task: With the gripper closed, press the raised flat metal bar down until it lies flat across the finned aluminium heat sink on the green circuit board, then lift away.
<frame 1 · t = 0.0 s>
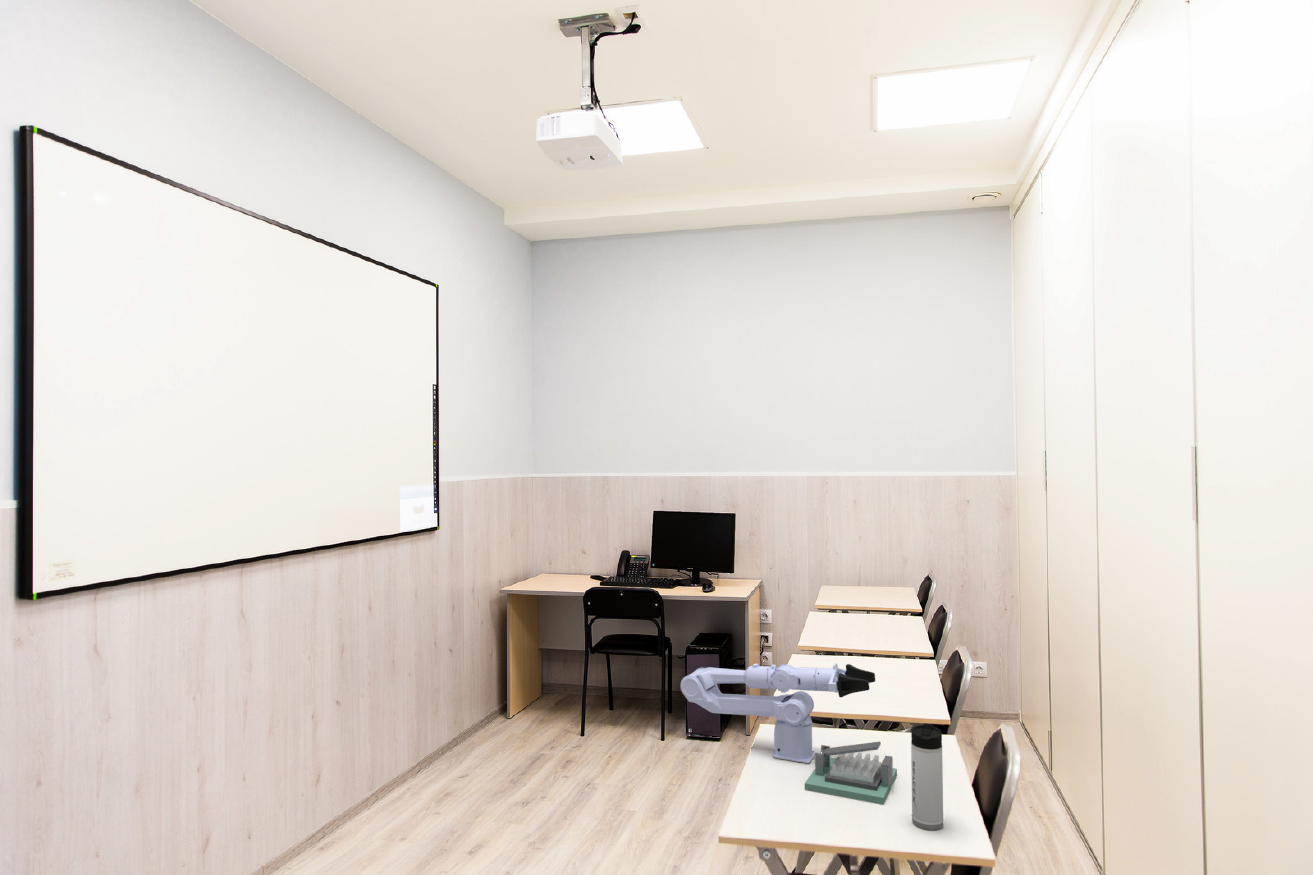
hand: (871, 681, 194), 22 cm above the table, tool horizontal, fingers open, 7 cm apart
flat metal bar: (849, 749, 187), point 8 cm above the table, hinge at 16.0°
travel mug: (927, 824, 165), on the table
heat sink: (853, 765, 186), point 4 cm above the table
circuit board: (851, 782, 186), on the table
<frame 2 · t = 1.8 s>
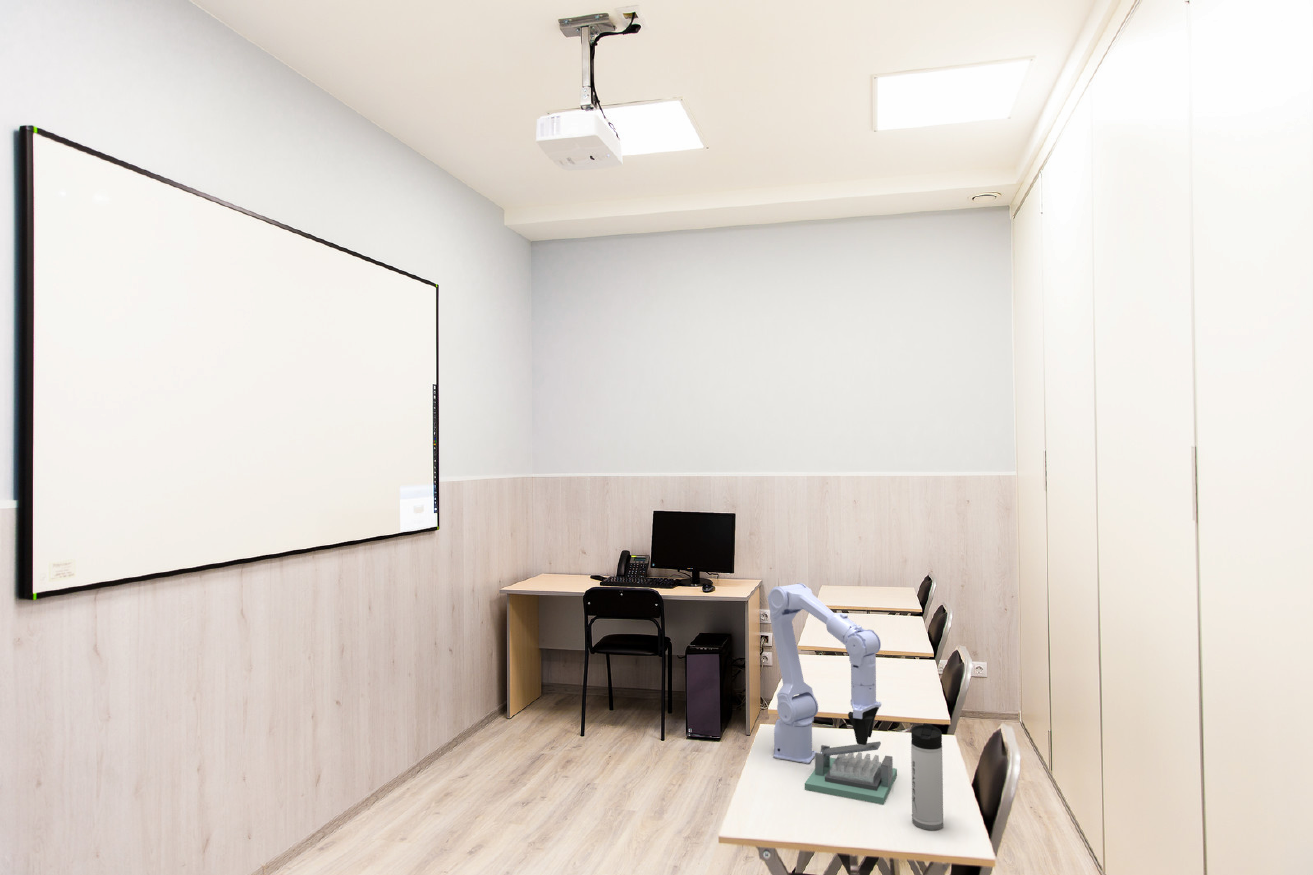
hand: (864, 740, 185), 10 cm above the table, tool pointing down, fingers open, 5 cm apart
nothing on the table moved.
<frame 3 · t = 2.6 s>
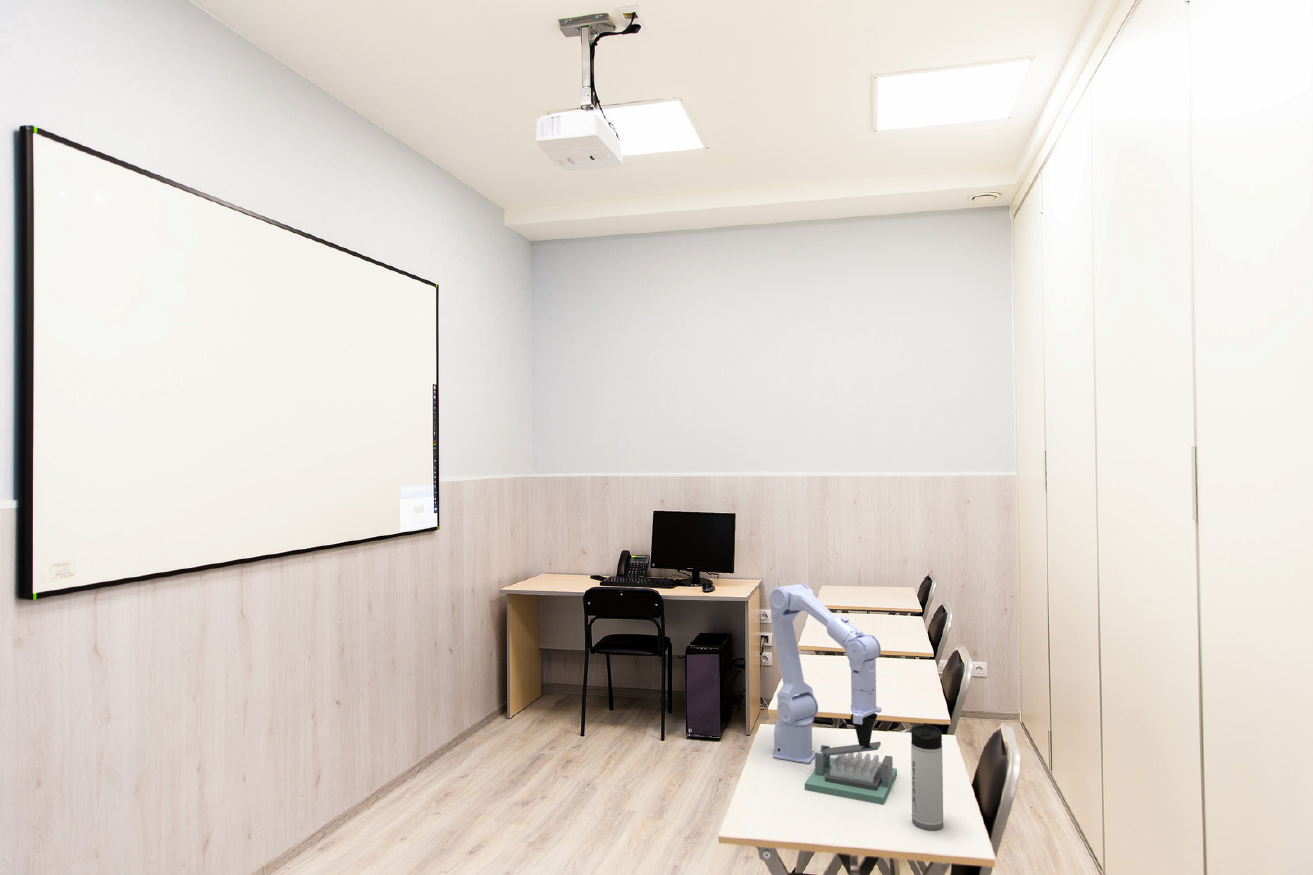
hand: (864, 745, 185), 9 cm above the table, tool pointing down, fingers closed, pressing on flat metal bar
flat metal bar: (849, 749, 187), point 8 cm above the table, hinge at 15.8°, touching gripper
everything else where it was.
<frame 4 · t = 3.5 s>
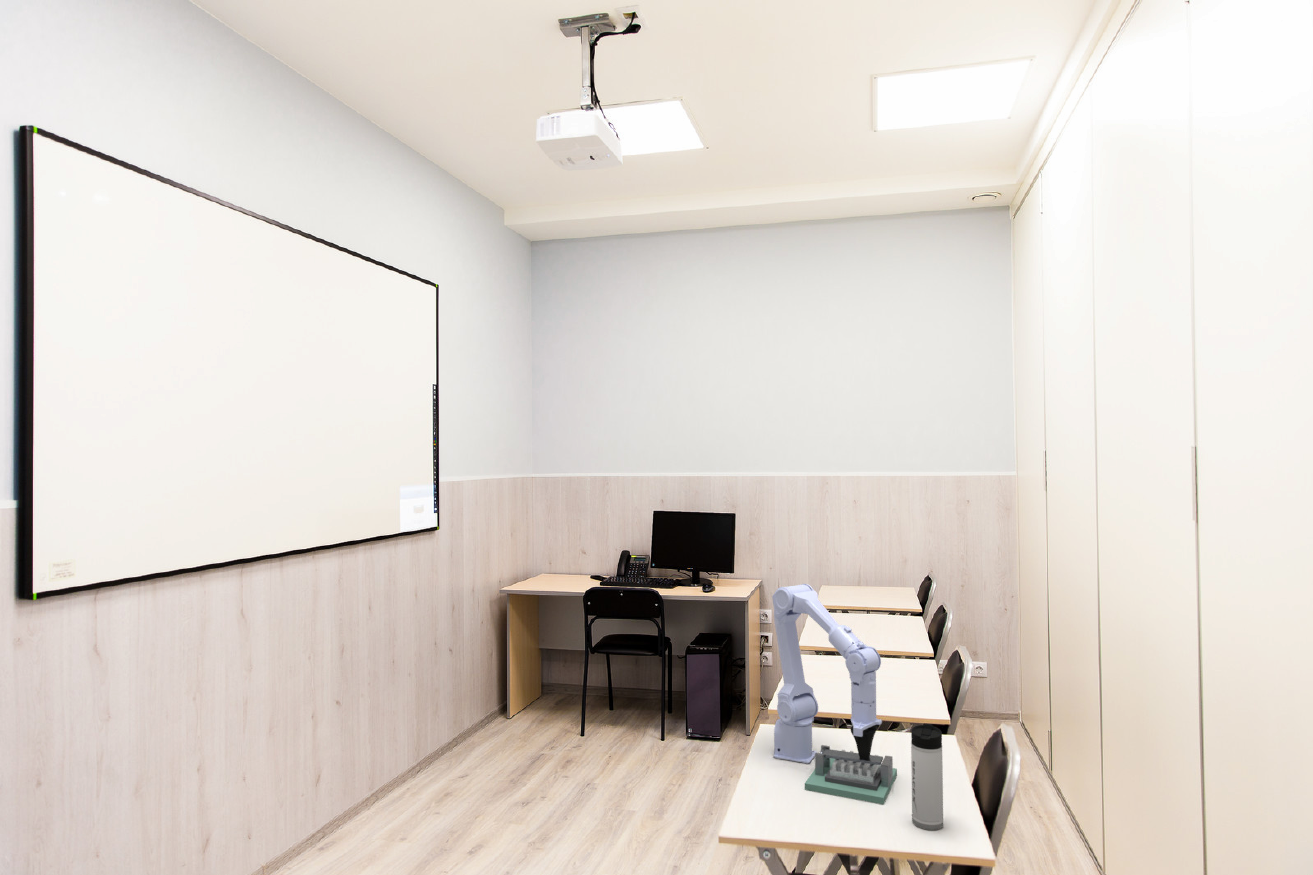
hand: (864, 757, 185), 6 cm above the table, tool pointing down, fingers closed, pressing on flat metal bar
flat metal bar: (850, 756, 186), point 6 cm above the table, hinge at 1.4°, touching gripper
everything else where it was.
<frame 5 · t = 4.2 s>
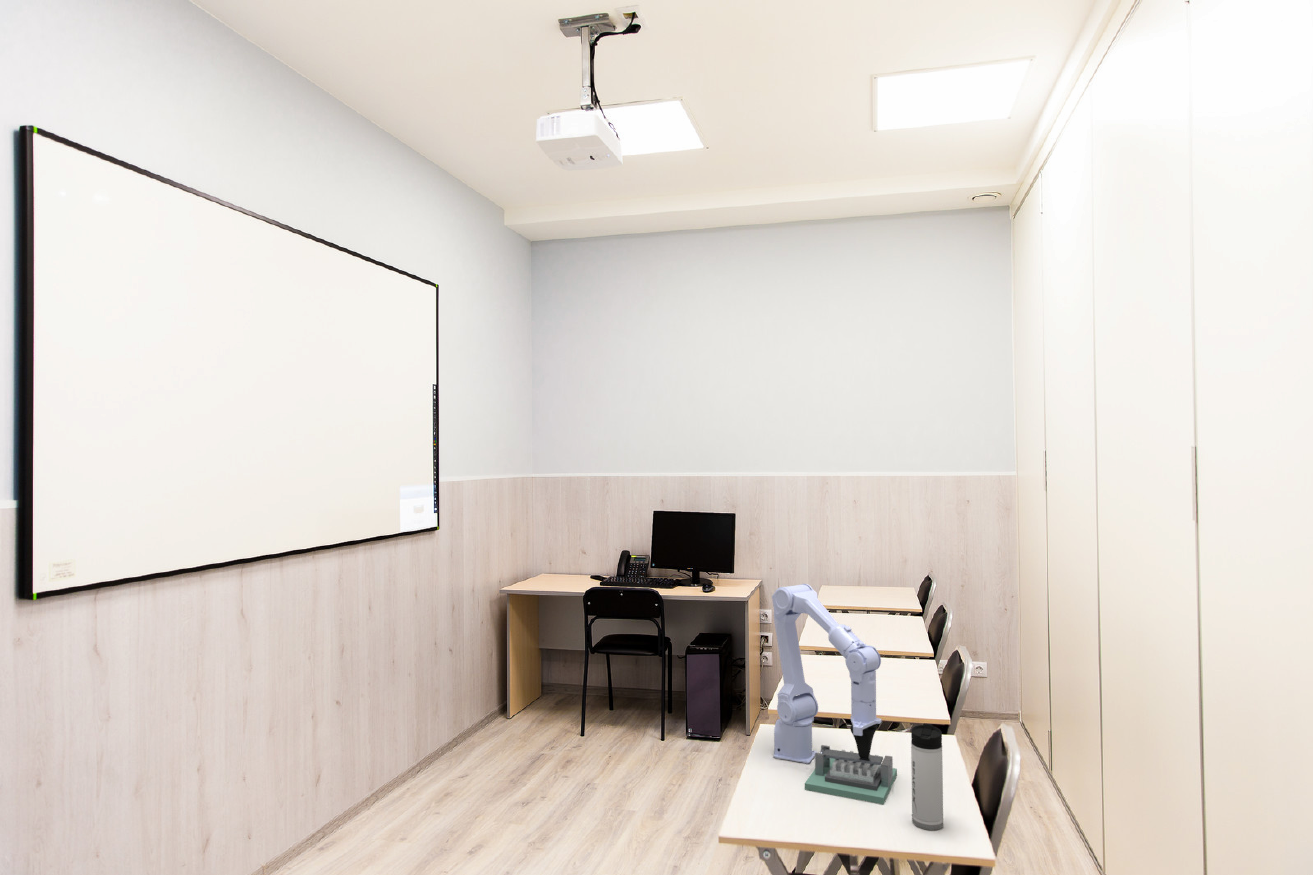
hand: (864, 756, 185), 7 cm above the table, tool pointing down, fingers closed
flat metal bar: (850, 756, 186), point 6 cm above the table, hinge at 1.4°
everything else where it was.
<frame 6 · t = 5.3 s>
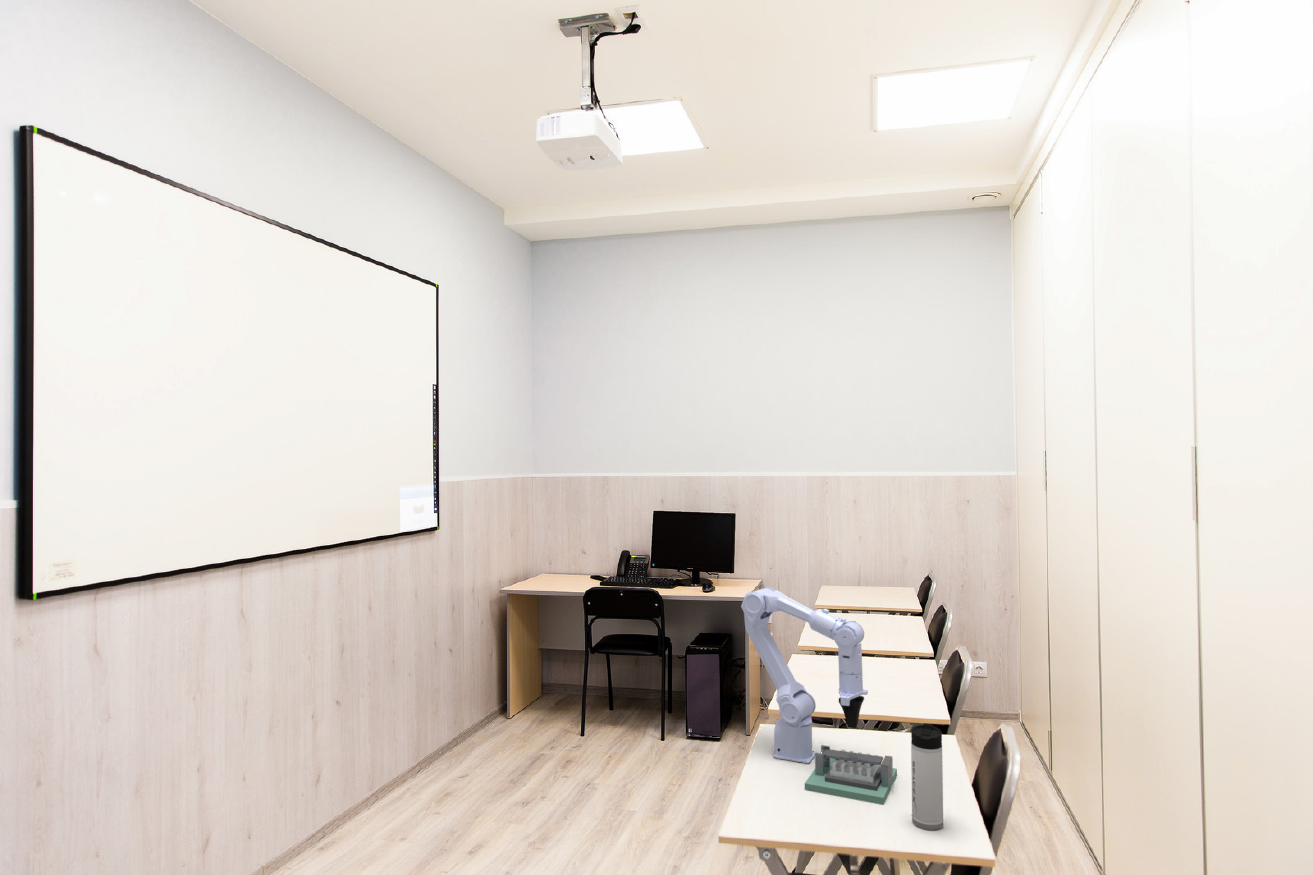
hand: (852, 726, 194), 10 cm above the table, tool pointing down, fingers closed
nothing on the table moved.
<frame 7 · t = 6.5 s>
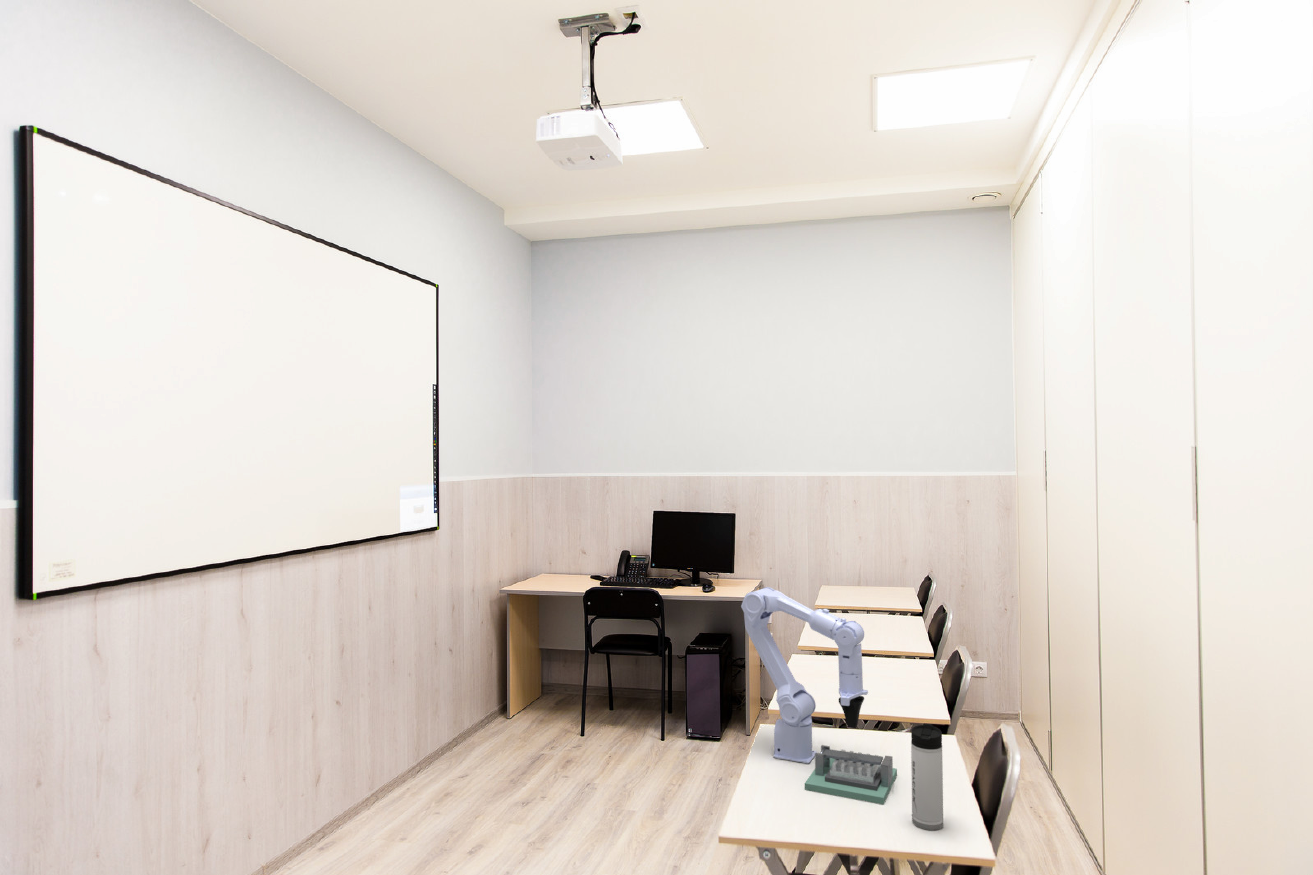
hand: (852, 726, 194), 10 cm above the table, tool pointing down, fingers closed
nothing on the table moved.
at the end: flat metal bar at +1° (first picture: +16°); travel mug moved 0.2 cm from its start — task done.
